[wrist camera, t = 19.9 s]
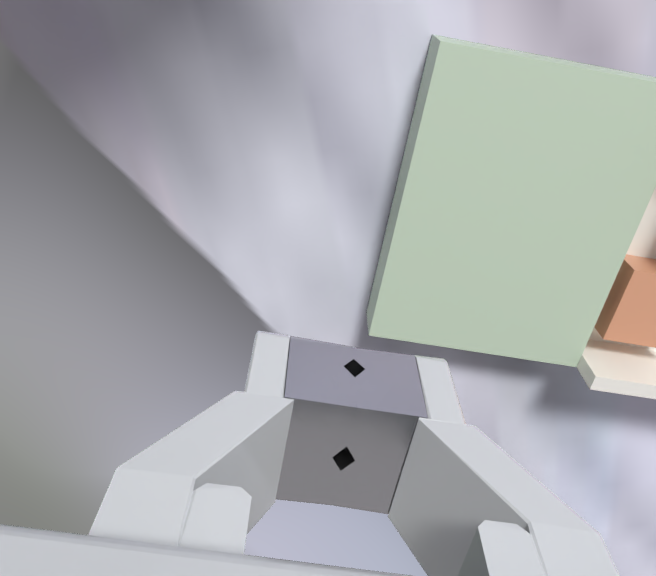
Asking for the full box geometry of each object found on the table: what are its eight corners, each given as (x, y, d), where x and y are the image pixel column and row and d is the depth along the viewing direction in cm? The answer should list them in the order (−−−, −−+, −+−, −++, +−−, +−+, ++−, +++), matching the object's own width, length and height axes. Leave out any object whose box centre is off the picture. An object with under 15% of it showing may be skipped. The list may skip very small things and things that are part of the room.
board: (432, 34, 35) (440, 40, 32) (670, 80, 36) (698, 90, 33) (366, 312, 43) (368, 335, 40) (561, 342, 44) (576, 367, 41)
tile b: (617, 252, 40) (634, 270, 38) (691, 265, 40) (712, 283, 38) (588, 319, 42) (603, 339, 40) (658, 330, 43) (676, 351, 40)
